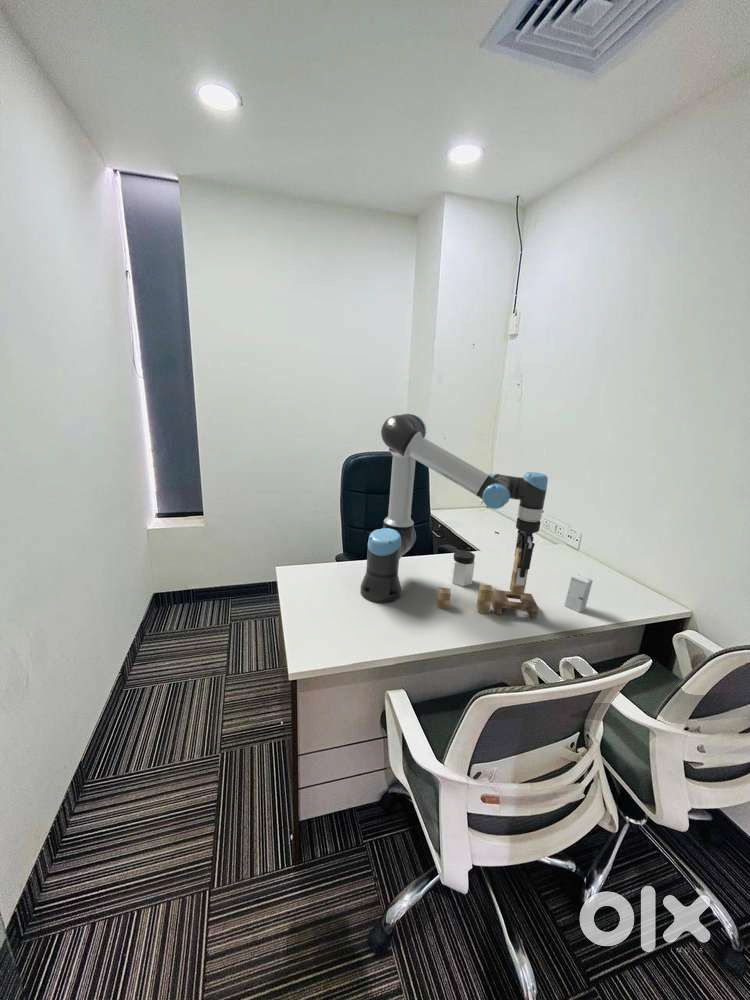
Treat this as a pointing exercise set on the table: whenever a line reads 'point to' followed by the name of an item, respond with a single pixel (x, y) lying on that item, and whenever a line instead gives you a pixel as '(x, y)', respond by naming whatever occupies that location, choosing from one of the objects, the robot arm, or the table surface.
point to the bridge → (502, 601)
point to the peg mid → (484, 598)
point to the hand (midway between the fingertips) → (518, 581)
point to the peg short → (444, 598)
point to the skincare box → (578, 592)
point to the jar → (462, 568)
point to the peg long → (513, 587)
